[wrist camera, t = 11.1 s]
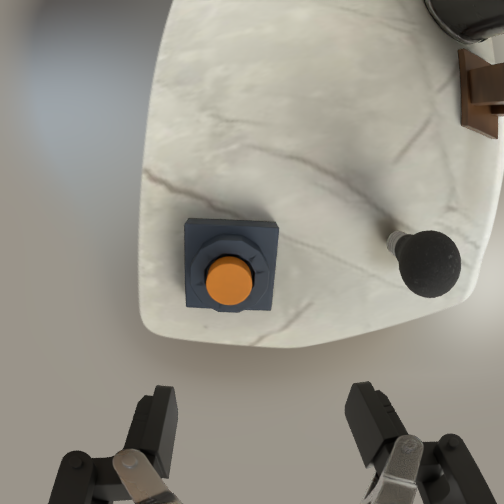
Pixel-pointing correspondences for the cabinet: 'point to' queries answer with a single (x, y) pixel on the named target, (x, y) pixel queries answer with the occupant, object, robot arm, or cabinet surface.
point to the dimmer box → (230, 244)
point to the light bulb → (426, 261)
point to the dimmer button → (229, 280)
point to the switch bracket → (481, 93)
